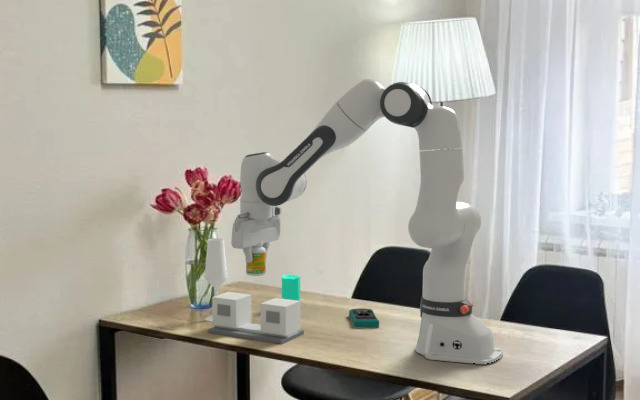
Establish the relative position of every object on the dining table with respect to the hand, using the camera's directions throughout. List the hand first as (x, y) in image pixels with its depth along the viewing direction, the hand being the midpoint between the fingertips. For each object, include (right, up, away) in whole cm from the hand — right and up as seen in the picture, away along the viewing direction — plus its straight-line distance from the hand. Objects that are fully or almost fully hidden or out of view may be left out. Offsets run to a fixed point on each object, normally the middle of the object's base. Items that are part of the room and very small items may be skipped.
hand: (256, 260), depth 250 cm
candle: (+9, -18, +31) cm, 37 cm away
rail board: (0, -21, +2) cm, 21 cm away
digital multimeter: (+31, -20, +17) cm, 40 cm away
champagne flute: (-13, -19, +18) cm, 29 cm away
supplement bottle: (0, -4, +1) cm, 4 cm away
